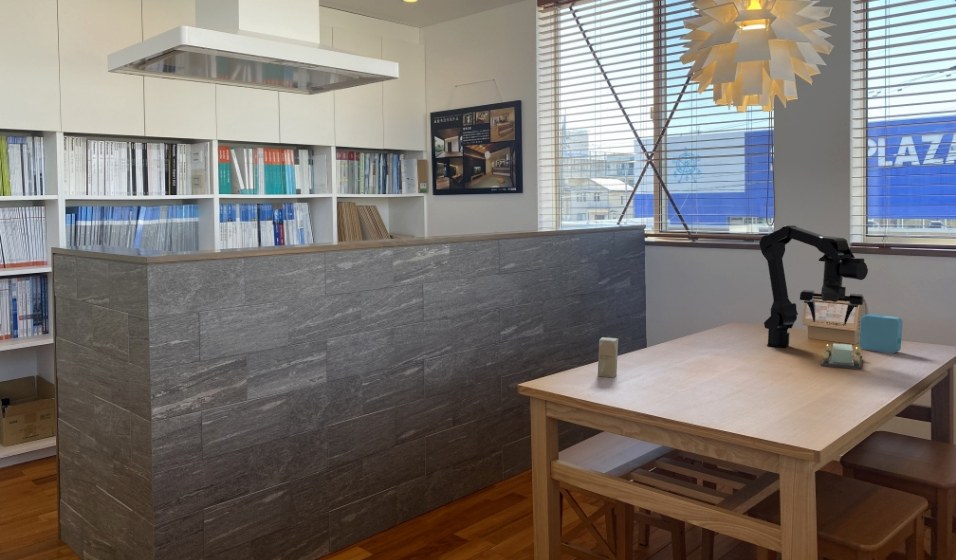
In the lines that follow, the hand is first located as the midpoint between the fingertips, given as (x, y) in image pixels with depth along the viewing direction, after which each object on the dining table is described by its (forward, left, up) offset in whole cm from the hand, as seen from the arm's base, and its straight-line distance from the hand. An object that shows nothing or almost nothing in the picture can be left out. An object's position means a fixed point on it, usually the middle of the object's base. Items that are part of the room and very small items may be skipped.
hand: (829, 323), depth 253 cm
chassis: (+5, -7, -11) cm, 14 cm away
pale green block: (+5, -7, -10) cm, 13 cm away
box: (-56, -60, -11) cm, 83 cm away
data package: (+15, +19, -11) cm, 27 cm away
